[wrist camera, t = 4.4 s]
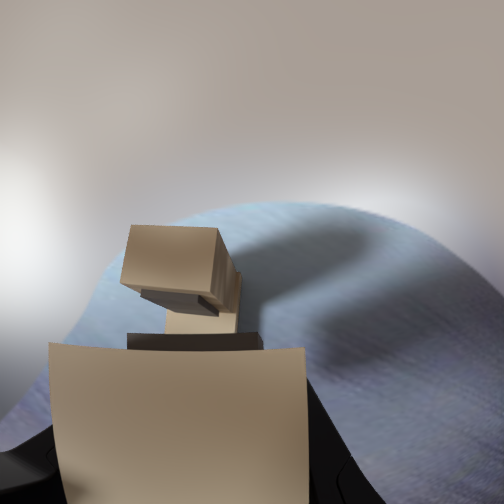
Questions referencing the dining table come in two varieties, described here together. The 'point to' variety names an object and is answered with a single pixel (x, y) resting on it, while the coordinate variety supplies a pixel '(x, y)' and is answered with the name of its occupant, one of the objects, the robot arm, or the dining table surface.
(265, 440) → the tan wooden block
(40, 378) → the dining table surface
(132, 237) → the rail
